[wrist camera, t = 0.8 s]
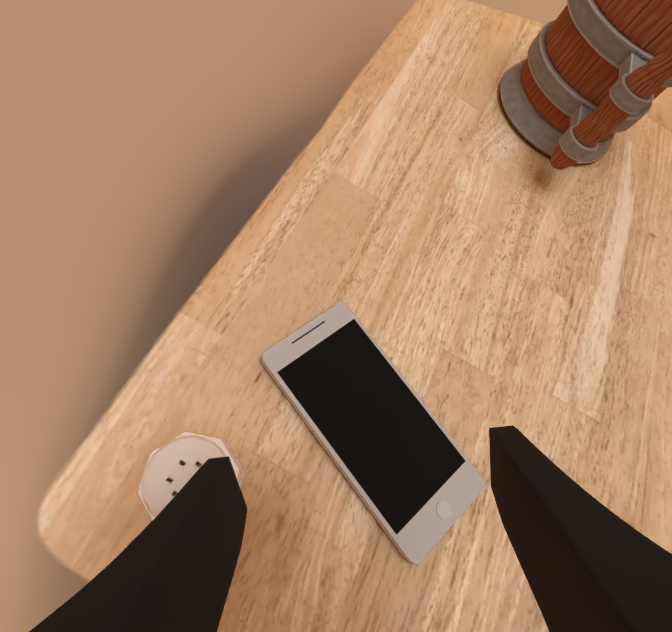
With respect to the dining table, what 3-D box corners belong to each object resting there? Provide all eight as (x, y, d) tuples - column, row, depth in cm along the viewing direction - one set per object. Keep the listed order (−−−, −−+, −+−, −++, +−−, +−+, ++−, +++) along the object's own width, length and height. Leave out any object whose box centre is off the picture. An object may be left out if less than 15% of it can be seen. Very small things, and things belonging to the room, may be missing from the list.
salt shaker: (188, 414, 25) (175, 366, 15) (263, 467, 25) (300, 453, 15) (120, 500, 22) (50, 509, 12) (203, 558, 22) (200, 614, 12)
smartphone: (409, 566, 25) (416, 568, 24) (257, 358, 27) (259, 354, 26) (480, 484, 28) (489, 484, 27) (339, 304, 30) (343, 298, 29)
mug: (609, 108, 50) (756, -31, 36) (595, 224, 41) (781, 98, 28) (509, 50, 49) (623, -116, 35) (473, 156, 40) (606, -9, 27)
